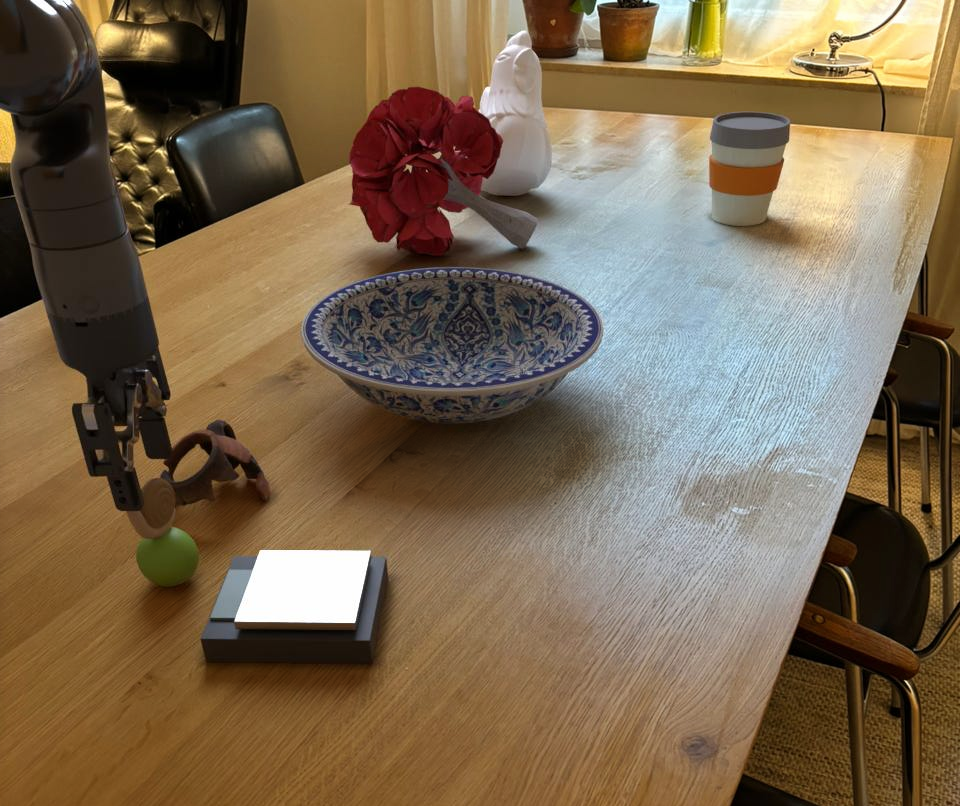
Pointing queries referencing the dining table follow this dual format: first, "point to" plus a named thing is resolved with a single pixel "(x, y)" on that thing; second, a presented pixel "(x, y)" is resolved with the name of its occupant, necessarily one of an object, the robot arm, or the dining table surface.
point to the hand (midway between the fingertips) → (146, 482)
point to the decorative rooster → (517, 120)
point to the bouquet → (449, 181)
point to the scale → (291, 644)
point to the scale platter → (304, 590)
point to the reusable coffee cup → (745, 165)
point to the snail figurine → (162, 537)
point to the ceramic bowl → (452, 340)
